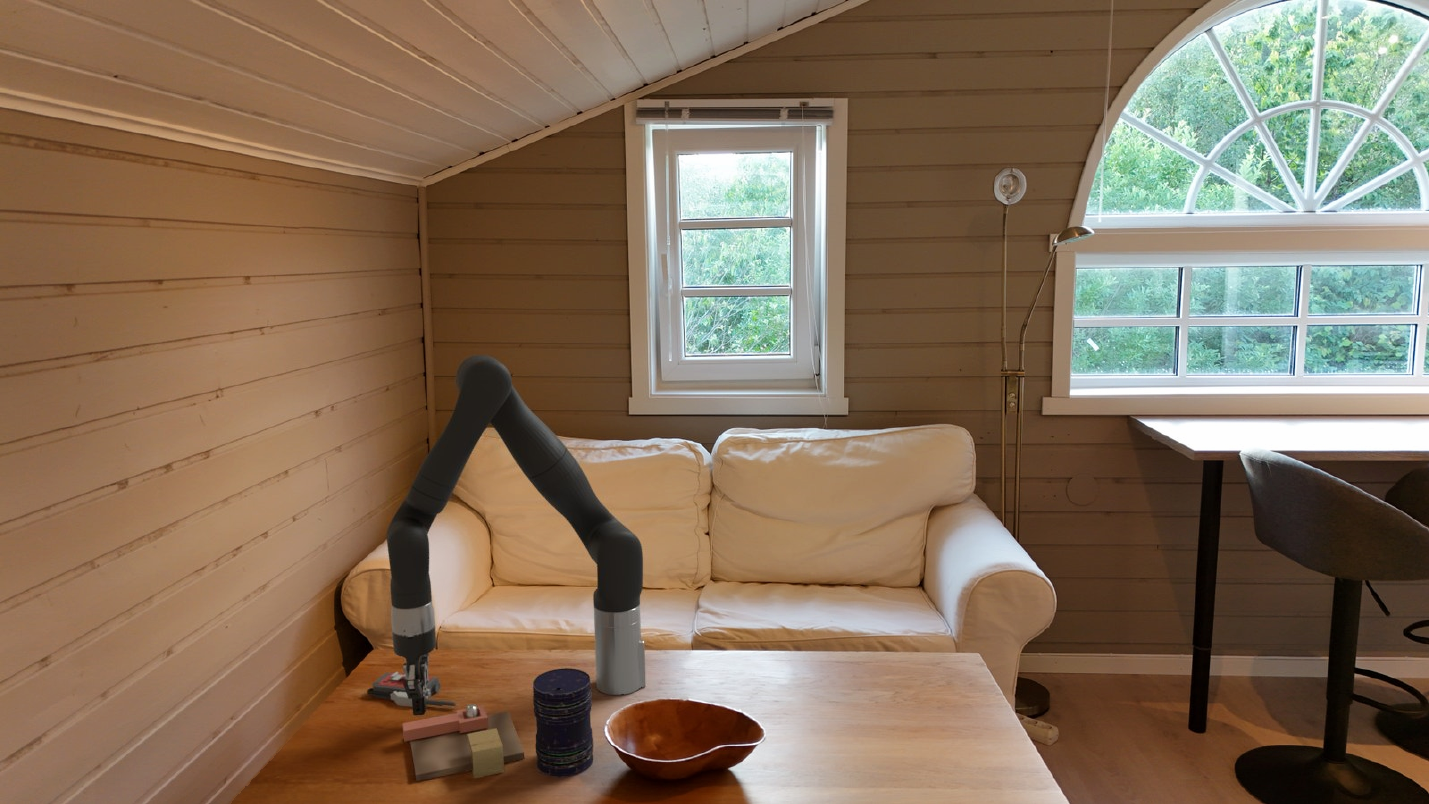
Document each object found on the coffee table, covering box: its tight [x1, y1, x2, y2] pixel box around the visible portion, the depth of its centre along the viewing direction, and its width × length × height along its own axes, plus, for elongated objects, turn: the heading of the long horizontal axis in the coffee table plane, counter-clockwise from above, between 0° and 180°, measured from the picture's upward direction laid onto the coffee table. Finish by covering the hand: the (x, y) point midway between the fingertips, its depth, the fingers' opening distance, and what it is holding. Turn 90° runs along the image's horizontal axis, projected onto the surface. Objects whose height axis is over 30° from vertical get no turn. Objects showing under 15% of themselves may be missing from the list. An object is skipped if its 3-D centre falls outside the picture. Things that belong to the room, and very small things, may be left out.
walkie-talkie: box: [366, 671, 457, 708], centre depth 188 cm, size 9×4×20 cm
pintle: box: [465, 703, 477, 719], centre depth 174 cm, size 2×2×5 cm
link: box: [402, 704, 488, 743], centre depth 172 cm, size 14×5×2 cm, turn 112°
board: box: [409, 710, 525, 782], centre depth 169 cm, size 18×16×1 cm
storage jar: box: [532, 667, 594, 779], centre depth 163 cm, size 10×10×15 cm
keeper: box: [467, 728, 505, 779], centre depth 163 cm, size 5×6×5 cm
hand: (419, 713), depth 177 cm, fingers closed
